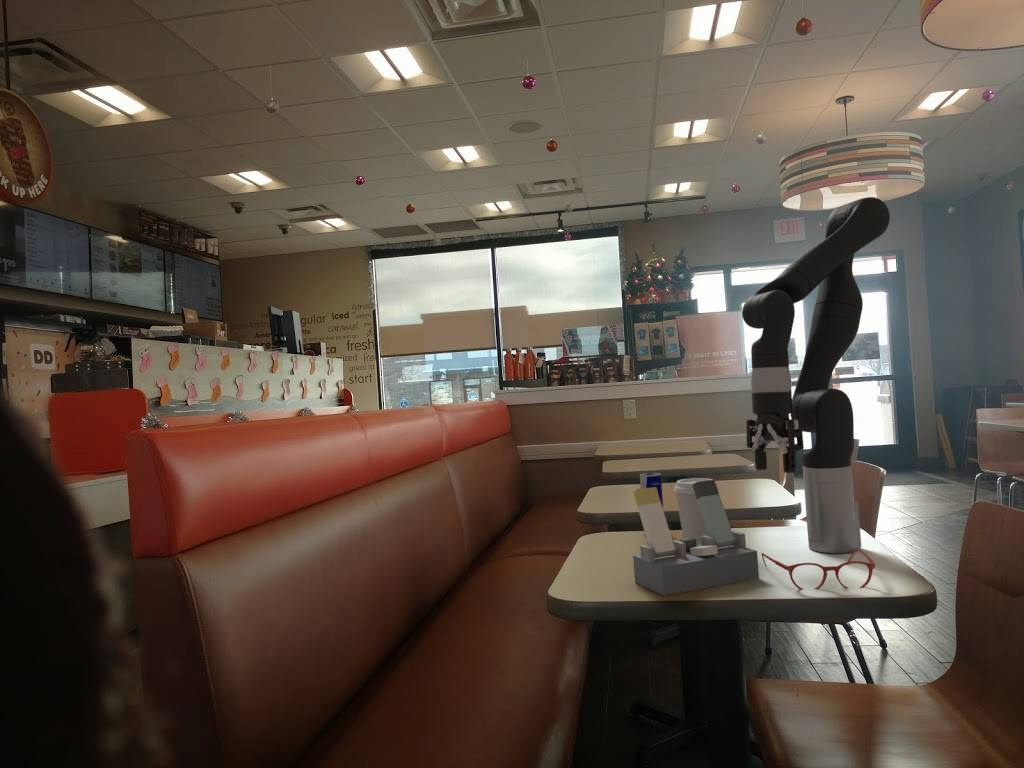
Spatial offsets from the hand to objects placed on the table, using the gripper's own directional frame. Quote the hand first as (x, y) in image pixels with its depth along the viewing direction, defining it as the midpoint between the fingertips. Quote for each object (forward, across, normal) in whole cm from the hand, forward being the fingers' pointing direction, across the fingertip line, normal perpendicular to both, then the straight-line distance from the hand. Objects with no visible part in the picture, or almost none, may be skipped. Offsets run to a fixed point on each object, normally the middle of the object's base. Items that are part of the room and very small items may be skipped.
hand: (774, 471), depth 135 cm
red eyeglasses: (+18, -13, +2) cm, 23 cm away
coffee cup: (+18, +15, +8) cm, 25 cm away
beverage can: (+18, +34, +9) cm, 40 cm away
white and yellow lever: (+13, -4, +28) cm, 31 cm away
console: (+19, -4, +22) cm, 29 cm away
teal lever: (+12, -4, +15) cm, 20 cm away
